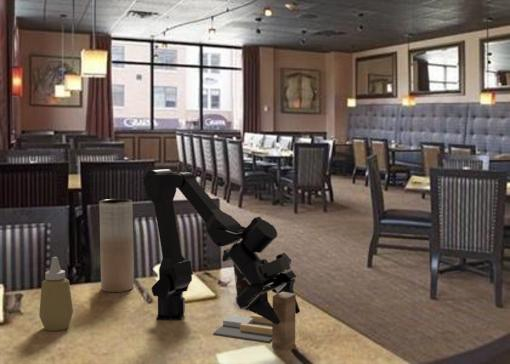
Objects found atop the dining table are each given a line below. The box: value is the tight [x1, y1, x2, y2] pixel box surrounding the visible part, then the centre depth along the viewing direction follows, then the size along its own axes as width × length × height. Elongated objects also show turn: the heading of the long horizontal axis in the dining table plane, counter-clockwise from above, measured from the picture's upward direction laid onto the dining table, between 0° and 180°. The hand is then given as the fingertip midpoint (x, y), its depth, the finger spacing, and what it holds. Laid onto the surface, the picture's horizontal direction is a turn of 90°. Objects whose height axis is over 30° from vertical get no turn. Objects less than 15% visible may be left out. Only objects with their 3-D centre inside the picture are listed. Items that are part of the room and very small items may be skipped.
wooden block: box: [271, 292, 297, 351], centre depth 129 cm, size 4×4×12 cm
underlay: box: [212, 313, 272, 343], centre depth 139 cm, size 14×12×2 cm
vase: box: [98, 198, 134, 293], centre depth 174 cm, size 10×10×28 cm
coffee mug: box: [232, 262, 249, 297], centre depth 170 cm, size 12×9×10 cm
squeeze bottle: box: [38, 256, 74, 332], centre depth 139 cm, size 8×8×18 cm
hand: (288, 317), depth 128 cm, fingers open, 9 cm apart
